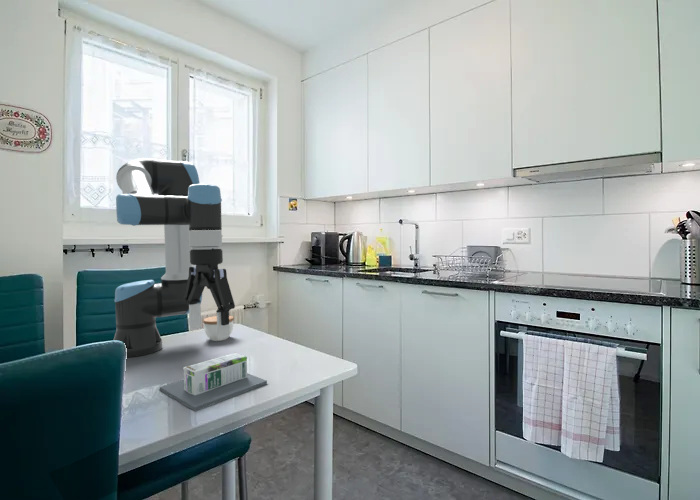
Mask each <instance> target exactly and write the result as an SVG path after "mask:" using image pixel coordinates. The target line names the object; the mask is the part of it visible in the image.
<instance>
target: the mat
mask: <svg viewBox="0 0 700 500" xmlns="http://www.w3.org/2000/svg"><path fill="white" fill-rule="evenodd" d="M247 375H248V377H247V378H245V379H241V380H238V381H235V382H232V383H229V384H227V385H224V386H221V387H218V388H215V389H213V390H210V391H207V392H204V393H202V394H199V395H192V394H190V393H188V392H187V391H185V390H184V379H181V380H177V381H174V382H171V383H168V384H166V385H162V386H159V391H160V392H162V393H163V394H165V395H167V396H168V397H171V398H172V399H174V400H175V401H177V402H179V403H181V404H182V405H184V406H186V407H187V408H189V409H191V410H192V411H194V412H195V411H199V410H201V409H203V408H207V407H209V406H212V405H215V404H217V403H220V402H223V401H225V400H227V399H231V398H233V397H235V396H238V395H241V394H244V393H246V392H249V391H251V390H255V389H257V388H260V387H263V386H264V385H267V384H268V380H266V379H263V378H261V377H260V376H259V377H258V376H256V375H253V374H250V373H248V372H247Z"/></svg>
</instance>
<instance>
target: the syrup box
mask: <svg viewBox="0 0 700 500" xmlns="http://www.w3.org/2000/svg"><path fill="white" fill-rule="evenodd" d="M182 370H183V380H184V390H185V391H187V392H188V393H190V394H192V395H199V394H202V393H204V392H207V391H210V390H213V389H215V388H218V387H221V386H224V385H227V384H229V383H232V382H235V381H238V380H241V379H245V378H247V377H248V375H247V373H248V356H245V355H242V354H239V353H236V352H234V353H229V354H227V355H222V356H219V357H215V358H212V359H207V360H205V361H201V362H199V363H194V364H191V365H187V366H184V367H182Z"/></svg>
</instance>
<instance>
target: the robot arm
mask: <svg viewBox="0 0 700 500" xmlns="http://www.w3.org/2000/svg"><path fill="white" fill-rule="evenodd" d="M198 173H199V172H198V169H197V168H196V166H195V165H194V163H192V162H190V161H182V160H173V159H157V158H150V157H149V158H148V157H147V158H146V157H145V158H144V157H143V158H136V159H134V160H133V159H132V160H130V161H127V162H126V163H124V164H123V165H121V166H120V168H119V169H118V171H117V172H116V178H115V179H116V183H117V186H118V189H120V190H121V192H122V193H120V194H117V195H116V197H115V207H116V208H115V210H116V211H115V212H116V221H117V223H118V224H119V225H129V226H130V225H131V226H163V231H164V259H165V263H164V264H165V273H164V274H163V275H162V276H161V277H160V283H159V282H158V283H156V282H155V280H154V279H145V280H138V281H132V282H127V283H123V284H121V285H119V286H117V287H116V288H115V291H114V303H115V325H116V326H115V328H116V331H115V333H114V337H113V340H120V341H123V342H124V343H125V345H126V348H127V357H126V358H133V357H139V356H144V355H150V354H152V353H153V354H154V353H155V352H158V351H160V350H162V349H163V340H162V337H161V335H160V332H159V329H158V328H157V322H156V321H157V320H156V318H164V317H169V316H170V317H171V316H179V315H188V316H189V318H188V319H189V330H190V331H194V330H199V329H202V310H201V309H202V307H201V305H202V300H203V293H204V289H205V288H206V289H208V290H209V291H210V292H211V293H210V294H211V295H212V298H213V300H214V303H215V304H216V307H217V310H215V311H216V316H217V339H219V340H220V339H224V338H228V339H229V338H230V336H229V316H230V311H232V310H233V309H235V307H236V305H235V301H234V297H233V295H232V291H231V287H230V284H229V280H228V276H227V274H228V273H227V269H226V268H219V265H221V264H222V263H224V262H223V260H224V258H223V249H222V248H220V247H222V246H223V233H222V202H223V200H222V196H221V195H222V194H221V188H220V187H219V186H217V185H214V184H204V183H200V178H199V174H198Z"/></svg>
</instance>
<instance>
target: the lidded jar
mask: <svg viewBox="0 0 700 500" xmlns="http://www.w3.org/2000/svg"><path fill="white" fill-rule="evenodd" d="M202 324H203V329H204V334H205V335H206V337H207V338H208V339H210V341H212V342H222V341H226V340H228V339H229V337H230V336H231V334H232V333H233V330H234V316H232V315H229V337H228V338H224V339H220V340H219V339H217V315H212V316H208V317H204V319H203V321H202Z"/></svg>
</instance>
